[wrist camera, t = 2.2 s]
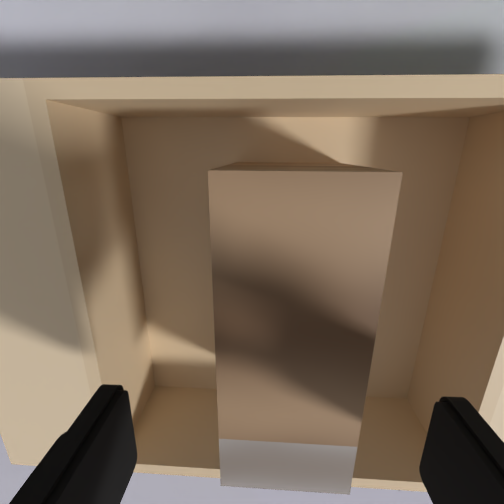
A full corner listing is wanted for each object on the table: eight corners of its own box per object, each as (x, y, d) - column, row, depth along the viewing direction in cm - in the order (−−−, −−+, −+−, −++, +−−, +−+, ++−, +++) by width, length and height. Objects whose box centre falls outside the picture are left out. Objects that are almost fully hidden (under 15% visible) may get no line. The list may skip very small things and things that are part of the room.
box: (236, 162, 14) (207, 170, 8) (340, 162, 14) (402, 172, 7) (238, 364, 18) (220, 485, 12) (320, 368, 18) (349, 494, 11)
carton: (14, 105, 15) (-128, 79, 9) (596, 103, 13) (810, 71, 8) (78, 383, 20) (11, 464, 15) (492, 404, 19) (578, 501, 13)
